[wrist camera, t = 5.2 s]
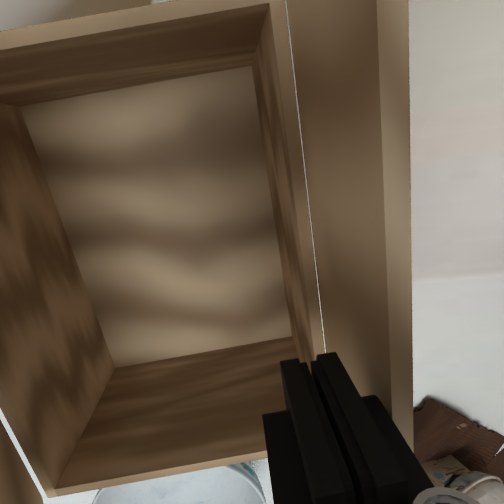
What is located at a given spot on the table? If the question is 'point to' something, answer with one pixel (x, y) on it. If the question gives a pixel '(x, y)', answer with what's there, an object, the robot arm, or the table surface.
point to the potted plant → (459, 453)
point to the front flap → (360, 186)
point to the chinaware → (191, 488)
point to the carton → (151, 239)
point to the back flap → (15, 475)
